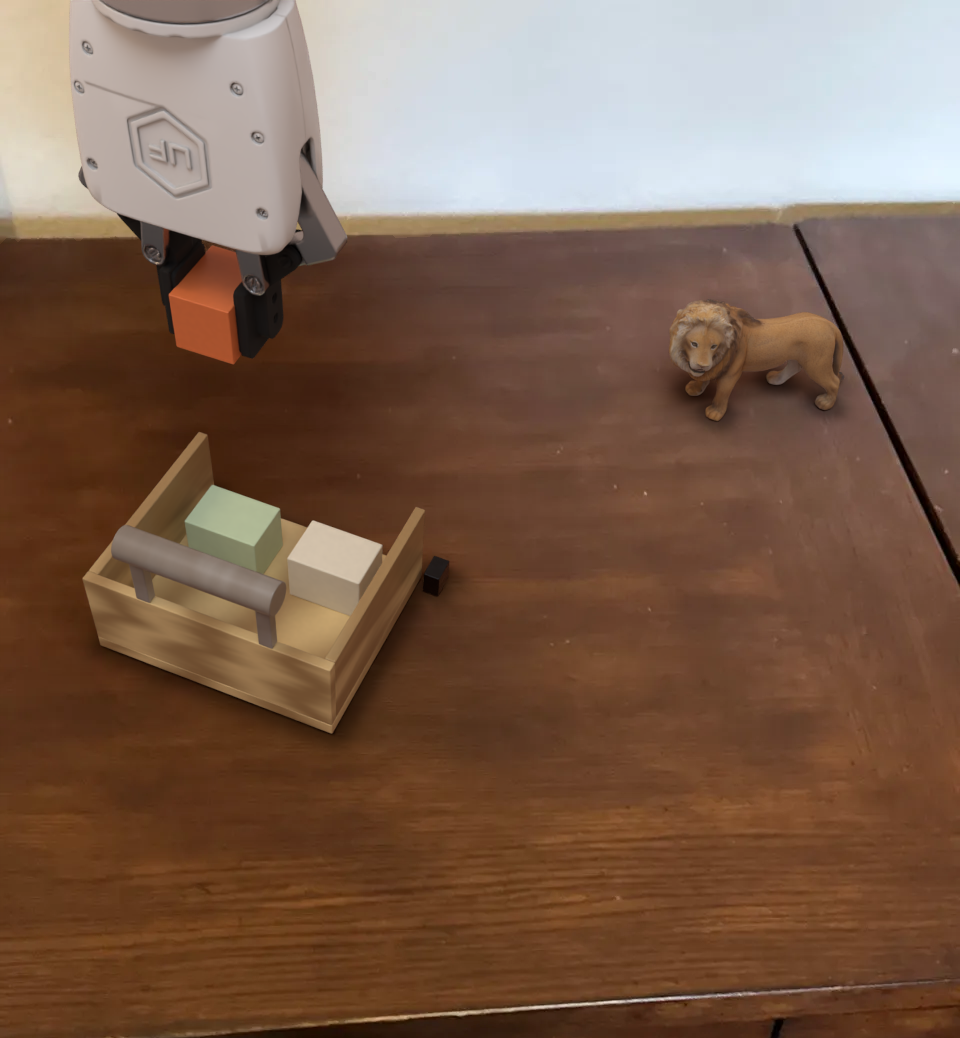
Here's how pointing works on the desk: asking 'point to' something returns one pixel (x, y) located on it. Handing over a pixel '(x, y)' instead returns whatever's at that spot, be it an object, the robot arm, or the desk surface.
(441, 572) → the stand
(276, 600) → the wooden box
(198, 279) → the orange block
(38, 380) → the desk surface
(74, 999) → the desk surface
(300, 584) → the block
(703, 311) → the lion figurine
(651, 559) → the desk surface
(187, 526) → the block
